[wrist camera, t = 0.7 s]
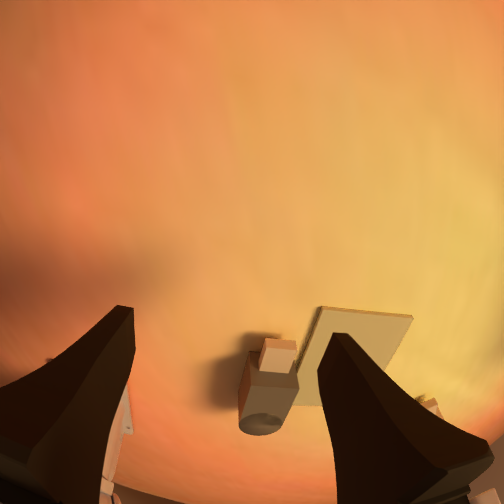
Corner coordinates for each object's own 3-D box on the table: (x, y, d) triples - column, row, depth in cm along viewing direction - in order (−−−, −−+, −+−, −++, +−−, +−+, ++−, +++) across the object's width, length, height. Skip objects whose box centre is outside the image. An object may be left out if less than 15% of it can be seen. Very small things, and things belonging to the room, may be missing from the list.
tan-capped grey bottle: (273, 405, 28) (276, 436, 24) (235, 402, 27) (235, 434, 24) (301, 332, 24) (309, 366, 20) (255, 327, 23) (258, 361, 20)
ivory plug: (429, 426, 33) (438, 446, 29) (405, 436, 33) (413, 457, 30) (436, 388, 29) (448, 412, 25) (407, 400, 29) (418, 425, 26)
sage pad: (360, 402, 28) (361, 405, 28) (283, 401, 27) (283, 404, 27) (411, 315, 23) (413, 318, 23) (321, 306, 23) (323, 309, 22)
